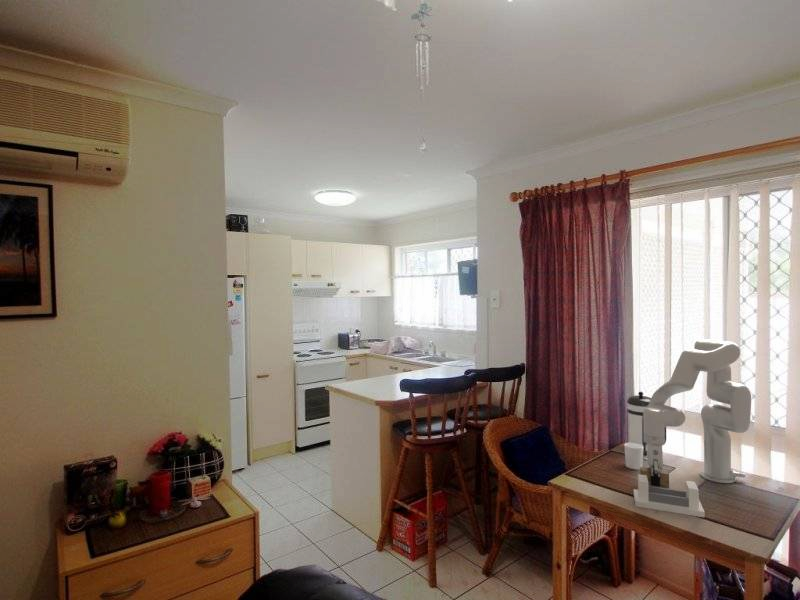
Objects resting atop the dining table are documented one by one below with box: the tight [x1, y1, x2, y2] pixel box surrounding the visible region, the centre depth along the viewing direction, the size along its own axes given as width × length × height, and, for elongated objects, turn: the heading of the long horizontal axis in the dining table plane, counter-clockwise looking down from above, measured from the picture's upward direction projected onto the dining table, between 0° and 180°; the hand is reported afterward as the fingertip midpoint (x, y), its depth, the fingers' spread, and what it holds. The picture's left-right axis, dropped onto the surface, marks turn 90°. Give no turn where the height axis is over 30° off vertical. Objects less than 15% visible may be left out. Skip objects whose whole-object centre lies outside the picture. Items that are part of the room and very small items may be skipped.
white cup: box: [623, 442, 644, 471], centre depth 206 cm, size 8×8×10 cm
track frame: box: [633, 473, 706, 518], centre depth 169 cm, size 22×11×9 cm, turn 66°
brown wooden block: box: [639, 466, 670, 489], centre depth 182 cm, size 10×4×8 cm, turn 66°
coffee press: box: [626, 391, 667, 456], centre depth 225 cm, size 17×16×30 cm
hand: (654, 481), depth 182 cm, fingers open, 7 cm apart
